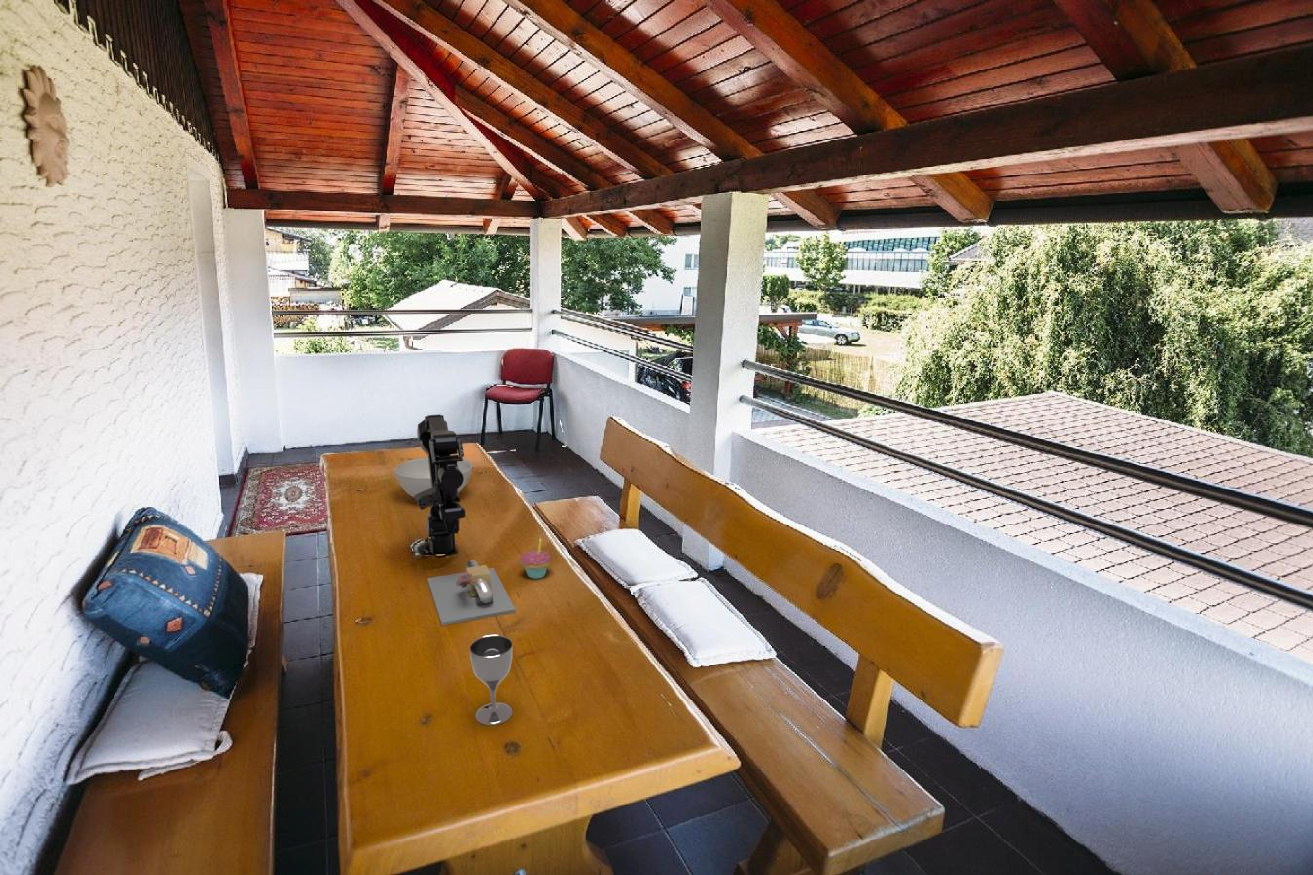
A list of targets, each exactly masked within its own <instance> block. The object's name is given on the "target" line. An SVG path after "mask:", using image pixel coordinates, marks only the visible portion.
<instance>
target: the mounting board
mask: <svg viewBox="0 0 1313 875" xmlns="http://www.w3.org/2000/svg"><path fill="white" fill-rule="evenodd" d="M488 569H489V571H490V573H491V592H492V594H493V604H488V605H483V606H477V604H476V597H479V595H477V596H471V595H470V593H469V590H468V588H467V587H464V588H461V586H457V584H456V581H457V580H458V579H459V576H460V575H466V574H467V573H466V571H464V572H458V573H451V574H446V575H439V576H433V577H428V578H427V585H428V586H429V590H430V593H431V597H432V599H433V603H434V605H435V610H436V612H437V615H438V618H439V620H440V624H441V626H447V625H453V624H458V623H459V624H460V623H464V622H469V621H475V620H480V619H484V618H485V619H487V618H490V617H496V616H501V615H507V614H511V613H512V614H513V613H516V612H517V610H516V607H515V605H514V603H513V602H512V600H511V598H510V596H509V595H508V593H507V590H506V589H505V587H504V585H503V582H501V579H500V578H499V576H498V574H497V572H496V570H495V568H494V567H491V568H489V567H488Z"/></svg>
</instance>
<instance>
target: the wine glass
mask: <svg viewBox="0 0 1313 875" xmlns="http://www.w3.org/2000/svg"><path fill="white" fill-rule="evenodd" d="M469 657H470V663H471V667H472V671H473V673H474V675H475V677H476V678H477V679H478V680H479V681H481V682H482V683H483V684H484V685H486V686H487V688H488V689H489V694H490V699H491V700H490V702H489V703H486V704H484V705H482V706H480V707H479V708H478V709H477V710H476V713H475V720H476V721H477V722H478V723H480V724H483V725H486V726H495V725H499V724H500V725H501V724H503V723H505V722H507V721H508V720H509V719H510V718H512V717H511V716H513V709H512V707H511V706H510V705H509V704H507V703H504V702H499V701H497V702H496V698H497V697H496V694H497V688H498V687H499V684H500V683H501V682H502V681H503V680H504V679H505V678H507V675H508V674H509V673H510V670H511V667H512V660H513V642H512V640H511V639H510V638H509V637H507V636H505V635H500V634H489V635H483V636H481V637H479V638H477V639H474V640H473V641H472V642H471V644H470V646H469Z"/></svg>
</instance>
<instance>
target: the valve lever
mask: <svg viewBox="0 0 1313 875" xmlns="http://www.w3.org/2000/svg"><path fill="white" fill-rule="evenodd" d="M472 580H473V578H472V574H466V575H460V576H459V579H458V580H457V581H456V584H457V586H461V588H464V587H467V584H468V583H469V582H471V581H472Z"/></svg>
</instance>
